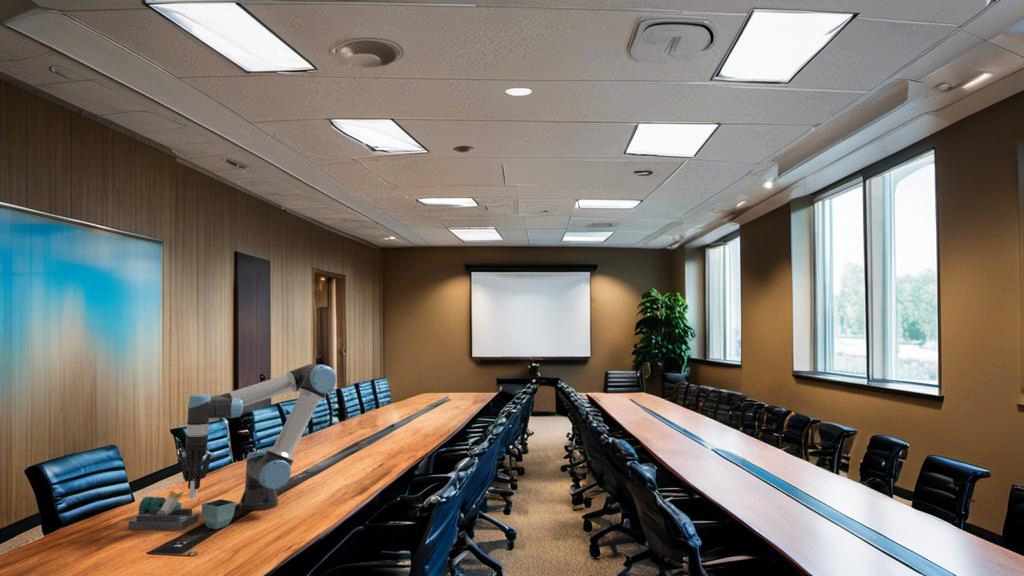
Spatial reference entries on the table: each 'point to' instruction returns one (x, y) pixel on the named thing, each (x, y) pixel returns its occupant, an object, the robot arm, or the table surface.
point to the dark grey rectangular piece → (164, 517)
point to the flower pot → (218, 513)
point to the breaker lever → (170, 502)
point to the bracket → (153, 504)
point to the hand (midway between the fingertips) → (193, 497)
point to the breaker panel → (164, 523)
